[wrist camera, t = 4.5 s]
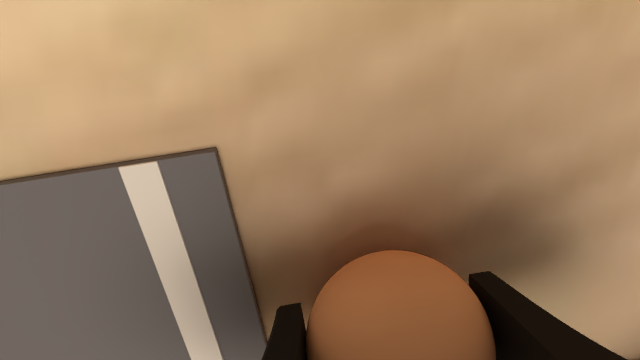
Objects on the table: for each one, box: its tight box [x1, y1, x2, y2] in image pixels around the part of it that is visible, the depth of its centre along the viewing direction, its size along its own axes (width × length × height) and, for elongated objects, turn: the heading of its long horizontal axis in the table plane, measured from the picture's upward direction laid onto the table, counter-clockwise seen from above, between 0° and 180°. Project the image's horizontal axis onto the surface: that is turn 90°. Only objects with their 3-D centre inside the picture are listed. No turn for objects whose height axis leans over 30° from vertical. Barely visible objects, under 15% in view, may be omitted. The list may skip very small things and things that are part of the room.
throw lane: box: [0, 148, 267, 360], centre depth 13 cm, size 13×11×1 cm
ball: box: [306, 250, 496, 360], centre depth 11 cm, size 5×5×5 cm
